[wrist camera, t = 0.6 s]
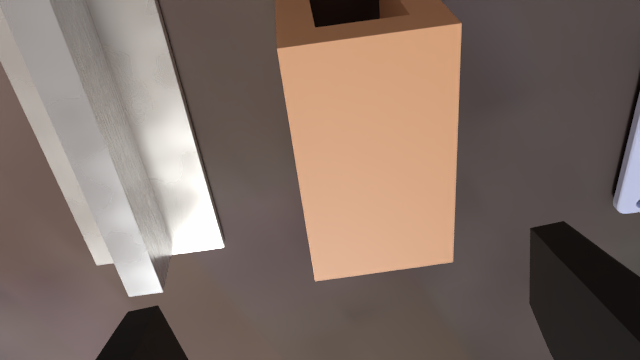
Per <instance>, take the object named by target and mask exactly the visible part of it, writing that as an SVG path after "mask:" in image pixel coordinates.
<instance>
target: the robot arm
mask: <svg viewBox="0 0 640 360" xmlns="http://www.w3.org/2000/svg"><path fill="white" fill-rule="evenodd" d="M638 200H640V92H639V96H638V101H637V105H636V109H635V113H634V117H633V121H632V125H631V129H630V134H629V138H628V142H627V146H626V150H625V154H624V158H623V162H622V167H621V171H620V175H619V179H618V183H617V187H616V191H615V195H614V200H613V205H614V207H615V208H616V209H617V210H618V211H619V212H620V213H623V214H628V213H635V212H640V201H638ZM637 201H638V202H637ZM530 305H531V308H532V310H533V313H534V315H535V318H536V320H537V323H538V325H539V328H540V330H541V332H542V335H543V337H544V339H545V342H546V344H547V346H548V348H549V351H550V353H551V355H552V357H553V358H554V360H640V277H639V276H638V275H636V274H635V273H633V272H632V271H631V270H629V269H628V268H626V267H625V266H624V265H622V264H621V263H620V262H618V261H617V260H616V259H614V258H613V257H611V256H610V255H609V254H607V253H606V252H605V251H603V250H602V249H601V248H599V247H598V246H597V245H595V244H594V243H593V242H591V241H590V240H589V239H587V238H586V237H585V236H583V235H582V234H580V233H579V232H578V231H576V230H575V229H574V228H572V227H571V226H570V225H568V224H567V223H565V222H564V221H562V222H558V223H553V224H548V225H543V226H538V227H534V228H530ZM96 360H188V358H187V357H186V355H185V353H184V351H183V349H182V348H181V346H180V344H179V342H178V340H177V339H176V337H175V335H174V333H173V332H172V330H171V328H170V326H169V324H168V323H167V321H166V319H165V317H164V315H163V314H162V312H161V310H160V308H159V306H153V307H149V308H144V309H139V310H134V311H129V312H128V313H127V314H126V315H125V317H124V318H123V320H122V321H121V323H120V324H119V326H118V327H117V329H116V330H115V331H114V333H113V334H112V336H111V337H110V339H109V340H108V342H107V343H106V345H105V346H104V348H103V349H102V351H101V352H100V354H99V355H98V357H97V358H96Z"/></svg>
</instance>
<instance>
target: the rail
mask: <svg viewBox="0 0 640 360" xmlns="http://www.w3.org/2000/svg"><path fill="white" fill-rule="evenodd" d="M0 61H1V63H2V65H3V67H4V69H5V71H6V74H7V76H8V78H9V80H10V82H11V84H12V86H13V88H14V91H15V93H16V95H17V97H18V99H19V101H20V103H21V105H22V108H23V110H24V112H25V114H26V116H27V118H28V120H29V122H30V125H31V127H32V129H33V131H34V133H35V135H36V137H37V139H38V142H39V144H40V146H41V148H42V150H43V152H44V154H45V156H46V159H47V161H48V163H49V165H50V167H51V169H52V171H53V173H54V176H55V178H56V180H57V182H58V184H59V186H60V188H61V190H62V193H63V195H64V197H65V199H66V201H67V203H68V205H69V207H70V210H71V212H72V214H73V216H74V218H75V220H76V222H77V224H78V227H79V229H80V231H81V233H82V235H83V237H84V239H85V241H86V244H87V246H88V248H89V250H90V252H91V254H92V256H93V258H94V261H95V263H96V265H103V264H110V263H114V264H115V266H116V269H117V271H118V273H119V275H120V278H121V280H122V282H123V284H124V287H125V289H126V291H127V293H128V296H129V297H131V296H138V295H146V294H153V293H160V292H163V290H164V286H165V281H166V277H167V272H168V267H169V263H170V258H171V255H175V254H182V253H189V252H196V251H203V250H211V249H218V248H224V244H225V240H224V236H223V233H222V229H221V226H220V222H219V218H218V215H217V211H216V208H215V204H214V200H213V197H212V193H211V190H210V186H209V182H208V179H207V175H206V172H205V168H204V165H203V161H202V157H201V154H200V150H199V147H198V143H197V139H196V136H195V132H194V129H193V125H192V121H191V118H190V114H189V111H188V107H187V103H186V100H185V96H184V93H183V89H182V86H181V82H180V78H179V75H178V71H177V68H176V64H175V60H174V57H173V53H172V50H171V46H170V42H169V39H168V35H167V32H166V28H165V24H164V21H163V17H162V14H161V10H160V7H159V3H158V0H0Z"/></svg>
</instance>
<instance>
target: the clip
mask: <svg viewBox="0 0 640 360" xmlns="http://www.w3.org/2000/svg"><path fill="white" fill-rule="evenodd" d="M379 11H380V19H375V20H367V21H360V22H353V23H345V24H338V25H331V26H324V27H316V28H315V25H314V20H313V16H312V11H311V7H310V2H309V0H275V12H276V36H277V52H278V58H279V64H280V70H281V76H282V82H283V88H284V94H285V100H286V107H287V113H288V119H289V125H290V131H291V137H292V143H293V149H294V156H295V162H296V168H297V174H298V180H299V186H300V192H301V198H302V204H303V211H304V217H305V223H306V229H307V235H308V241H309V247H310V253H311V260H312V266H313V272H314V278H315V281H321V280H328V279H335V278H342V277H350V276H357V275H364V274H371V273H378V272H385V271H393V270H400V269H407V268H414V267H421V266H429V265H436V264H443V263H450V262H453V245H454V218H455V191H456V163H457V136H458V109H459V81H460V54H461V27H462V23H461V22H460V21H459V20H458V19H457V18H456V17H455V16H454V14H453V13H452V12H451V11H450V10H449V9H448V8H447V7H446V6H445V5H444V4H443V3H442V1H441V0H379Z"/></svg>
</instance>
